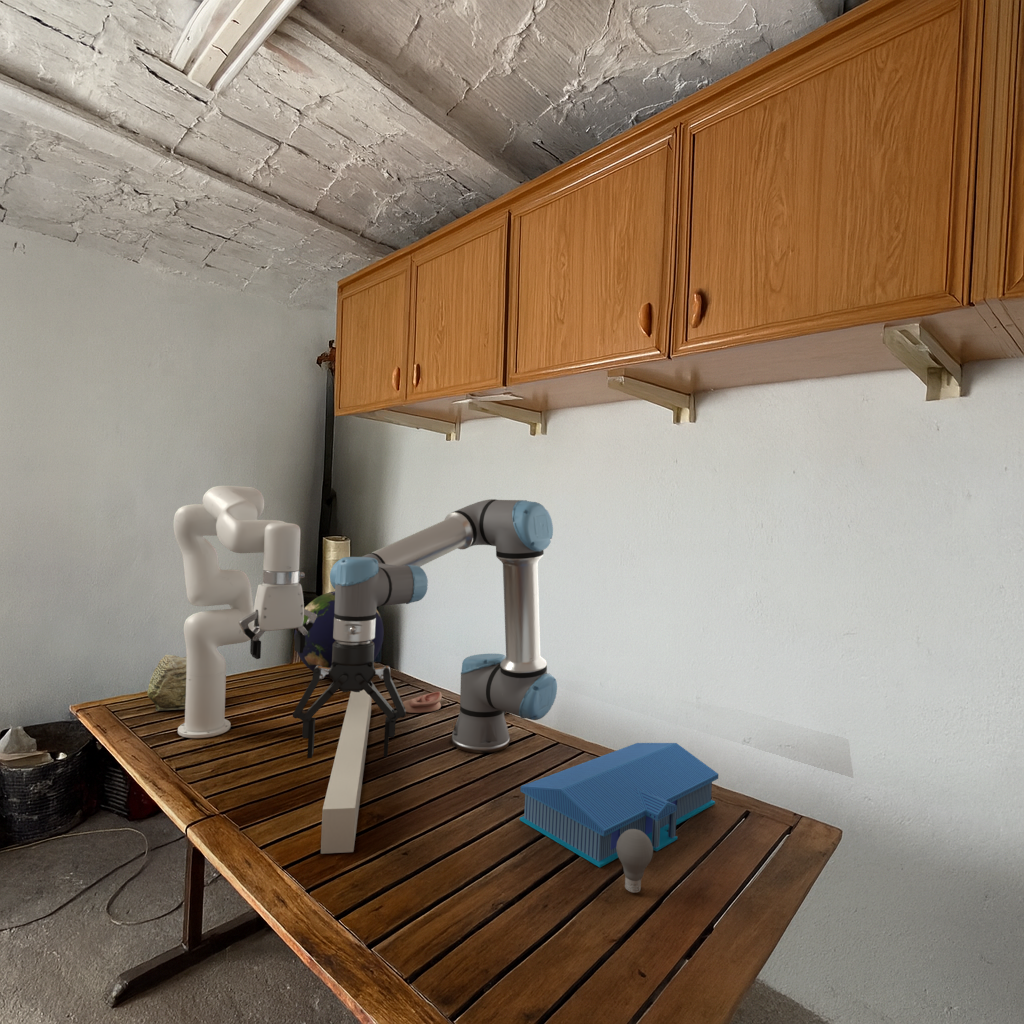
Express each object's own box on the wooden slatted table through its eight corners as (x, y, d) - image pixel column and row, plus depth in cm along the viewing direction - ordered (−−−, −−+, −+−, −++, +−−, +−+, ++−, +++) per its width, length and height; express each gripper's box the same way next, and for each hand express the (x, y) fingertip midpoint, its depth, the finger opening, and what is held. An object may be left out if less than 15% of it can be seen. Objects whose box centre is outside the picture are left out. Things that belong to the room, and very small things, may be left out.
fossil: (144, 707, 182) (145, 655, 182) (212, 696, 194) (213, 647, 194) (151, 716, 175) (153, 662, 175) (221, 703, 188) (223, 653, 188)
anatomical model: (391, 697, 188) (405, 686, 200) (390, 710, 188) (404, 699, 200) (433, 702, 186) (445, 691, 197) (433, 715, 186) (445, 703, 197)
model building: (614, 876, 110) (616, 818, 109) (518, 819, 128) (520, 770, 127) (729, 809, 136) (731, 762, 136) (635, 769, 154) (637, 729, 154)
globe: (273, 681, 212) (276, 592, 212) (330, 661, 240) (333, 582, 239) (347, 695, 201) (350, 601, 200) (398, 673, 229) (401, 590, 228)
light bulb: (610, 879, 108) (613, 822, 108) (644, 879, 109) (647, 822, 109) (619, 902, 102) (622, 840, 102) (655, 901, 103) (658, 840, 103)
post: (351, 711, 187) (352, 684, 187) (371, 710, 188) (372, 684, 188) (320, 853, 113) (322, 809, 113) (353, 852, 114) (355, 807, 114)
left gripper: (310, 574, 149) (307, 646, 150) (234, 578, 138) (231, 656, 138) (325, 578, 144) (321, 653, 144) (247, 582, 132) (244, 664, 133)
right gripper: (279, 644, 112) (274, 764, 112) (422, 646, 116) (416, 761, 116) (287, 635, 119) (282, 747, 119) (421, 637, 123) (416, 745, 123)
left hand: (277, 654), depth 141 cm, fingers open, 9 cm apart
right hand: (348, 754), depth 118 cm, fingers open, 13 cm apart
